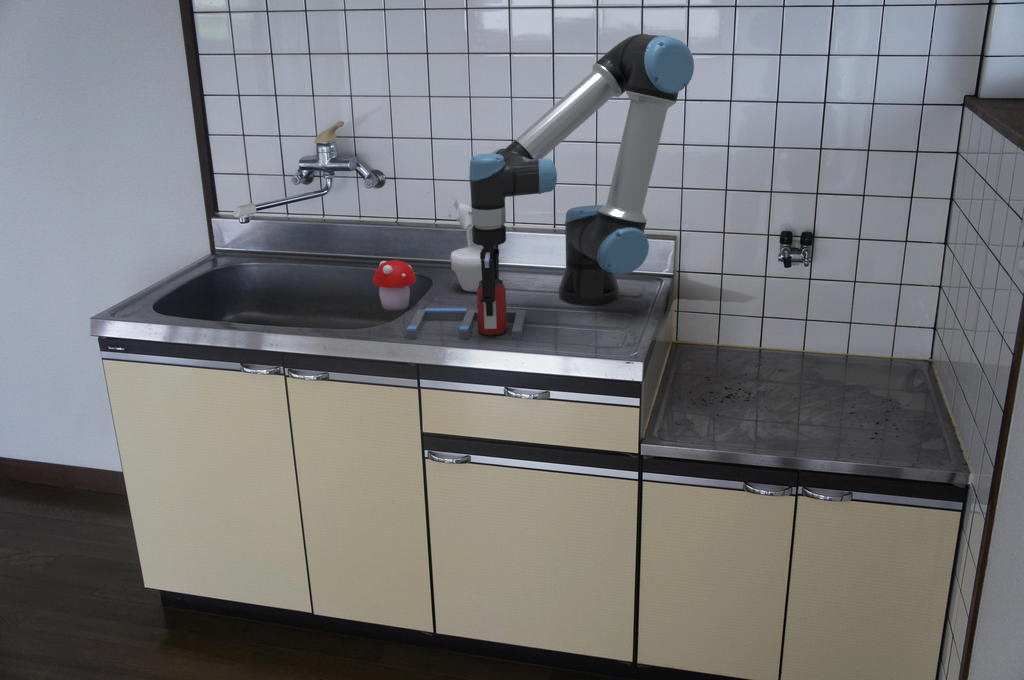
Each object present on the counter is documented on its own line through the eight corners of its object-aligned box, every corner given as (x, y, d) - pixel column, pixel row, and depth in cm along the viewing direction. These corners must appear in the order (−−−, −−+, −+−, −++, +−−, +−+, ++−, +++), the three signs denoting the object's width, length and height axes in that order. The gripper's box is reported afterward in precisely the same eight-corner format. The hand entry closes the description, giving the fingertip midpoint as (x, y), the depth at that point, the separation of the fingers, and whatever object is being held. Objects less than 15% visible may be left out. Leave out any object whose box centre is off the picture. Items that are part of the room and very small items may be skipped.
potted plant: (443, 289, 255) (438, 195, 246) (476, 279, 262) (473, 187, 253) (474, 299, 246) (469, 202, 237) (508, 289, 253) (505, 194, 245)
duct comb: (525, 317, 232) (525, 308, 232) (521, 339, 219) (520, 329, 218) (418, 317, 235) (417, 308, 234) (407, 338, 221) (406, 328, 220)
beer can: (508, 326, 227) (506, 277, 223) (505, 336, 221) (503, 286, 217) (480, 326, 228) (478, 277, 223) (476, 336, 221) (474, 286, 217)
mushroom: (392, 296, 250) (389, 251, 246) (426, 303, 245) (424, 257, 240) (366, 309, 242) (362, 262, 237) (401, 315, 236) (398, 268, 232)
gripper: (477, 214, 225) (480, 308, 233) (466, 236, 206) (470, 337, 215) (509, 214, 224) (511, 308, 232) (501, 236, 206) (504, 337, 214)
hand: (492, 322), depth 223 cm, fingers closed on beer can, 7 cm apart
